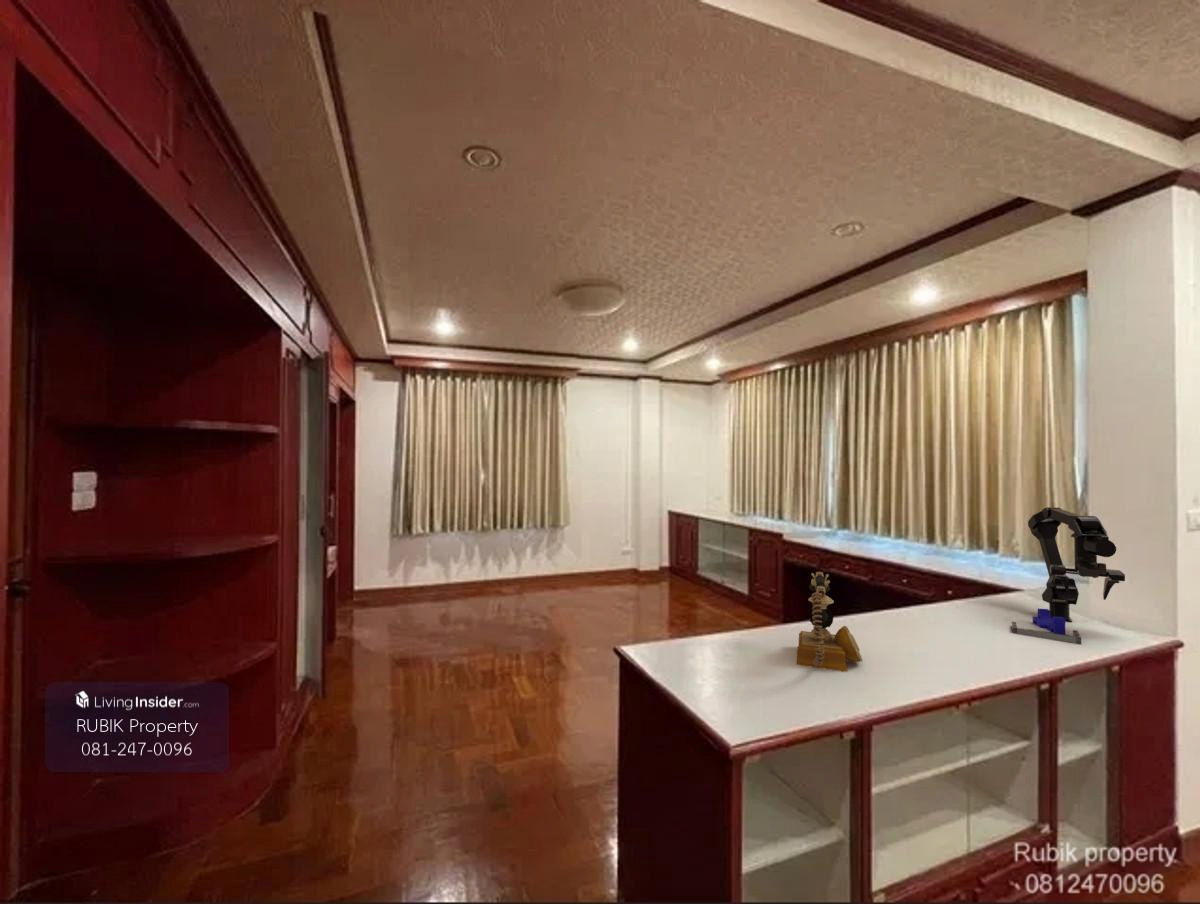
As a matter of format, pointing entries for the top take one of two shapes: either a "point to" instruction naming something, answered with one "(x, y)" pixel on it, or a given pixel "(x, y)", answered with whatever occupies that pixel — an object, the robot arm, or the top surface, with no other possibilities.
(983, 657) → the top surface
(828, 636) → the jack-in-the-box toy
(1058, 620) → the cable clip
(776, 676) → the top surface
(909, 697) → the top surface
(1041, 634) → the rail bay
